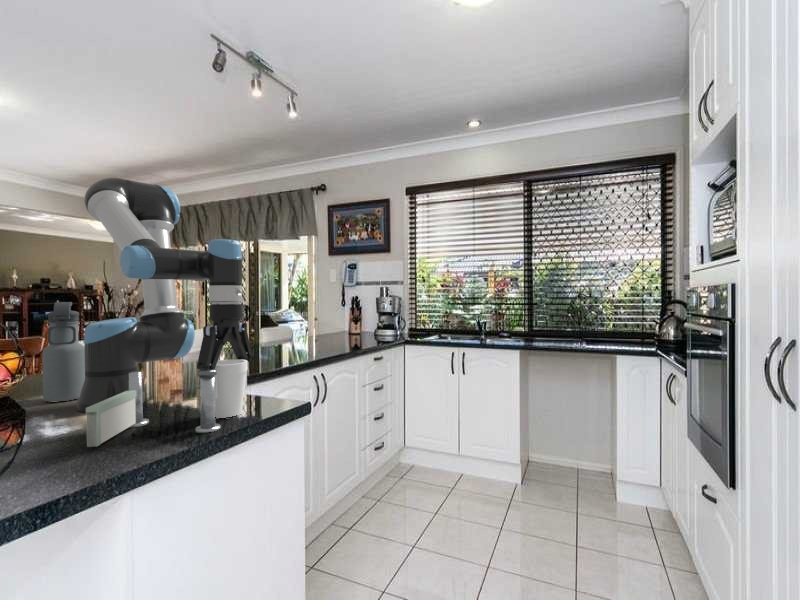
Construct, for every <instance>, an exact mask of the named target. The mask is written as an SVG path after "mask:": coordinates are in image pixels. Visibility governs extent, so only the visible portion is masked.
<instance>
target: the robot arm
mask: <svg viewBox="0 0 800 600" xmlns="http://www.w3.org/2000/svg"><path fill="white" fill-rule="evenodd" d="M83 201H84V205H85V208H86V211H87V212H88V213H89V214H90V216H91V217H92V218H93V219H94V220H95V221H98V222H100V223H101V225H103V227H104V228H105V229H106V231H107V233H109V236H110V237H111V238H112V239H113V241H114V243H115V244H116V245H117V246H118V248H119V249H120V250H121V252H120V257H119V265H120V267H121V272H122V274H123V275H124V276H125V277H126V278H130V279H139V280H141V285H142V295H143V305H144V311H143V312H142V313H141V315H139V321H138V320H137V319H136V317H134V316H133V317H132V316H131V317H127V316H126V317H119V318H118V317H117V318H113V319H112V318H109V319H104V320H99V321H94V322H91V323H89V324H87V325H86V327H85V328H84V336H83V346H84V347H85V381H84V384H83V387H82V390H81V394H80V398H79V399H77V400H76V405H77V406H76V409H77V411H79V412H82V413H86V408H87V407H89V406H92V405H94V404H96V403H99V402H101V401H104V400H106V399H108V398H111V397H113V396H115V395H118V394H120V393H122V392H125V391H129V372H134V371H138V364H141V363H151V362H159V361H167V360H168V361H171V360H174V359H180V358H184V357H186V356H187V355H188V354H189V353H190V352H191V350H192V348H193V347H194V343H195V336H196V335H195V334H196V332H195V326H194V324H193V322H192V321H191V319H188V318H186V317H185V312H184V311H183V310H181V309H180V308H179V306H178V298H177V290H176V289H177V288H176V281H178V280H179V281H181V280H182V281H195V282H196V281H197V282H205V281H208V301H209V302H210V303H211V304H210V305H209V309H208V310H209V311H208V314H209V315H208V316H209V319H210V320H211V321H212V323H213V324H212V326H211V325H210V326H208V325H206V326H203V328H202V331H203V332H202V334H203V335H202V341H201V345H200V350H199V354H198V360H197V363H196V369H197V370H203V369H215V367H216V364H217V361H218V360H220V355H221V353H222V350H223V348H224V346H225V345H226V344H227V343H229V344H230V346H231V349H232V350H233V353H234V355H235V358H236V359H241V360H247V363H248V362H249V363H250V362H251V361H252V358H253V352H252V348H251V344H250V343H251V341H250V338H249V334H248V323H247V322H239V320H241V319H242V318H243V305H242V304H241V302H243V255H242V254H243V253H242V244H241V242H240V241H238V240H234V239H227V238H226V239H225V238H223V239H222V238H221V239H220V238H218V239H211V240H210V241H209V242H208V247H207V250H193V249H181V248H172V246H171V245H172V244H171V237H170V233H171V232H172V231H173V230H174V228H175V225H176V224H178V222H179V220H180V217H181V215H180V213H181V204H180V201H179V198H178V196H177V194H176V193H175V192H174V190H172V188H171V189H170V188H169V187H166V186H161V185H159V184H151V183H146V182H140V181H135V180H130V179H125V178H121V177H108V178H107V177H106V178H102V179H99V180H97V181H95V182H94V183H93V184H91V185H90V186H89V187H88V188H87V190H86V192H85V194H84V200H83ZM175 280H176V281H175ZM210 364H211V365H210ZM247 375H248V371H247V372H246V381H245V389H246V388H248V376H247ZM217 398H218V381H217V375H215V399H217ZM142 401H143V403H145V401H146V392H145V390H143V389H142Z"/></svg>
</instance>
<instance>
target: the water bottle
mask: <svg viewBox="0 0 800 600" xmlns="http://www.w3.org/2000/svg"><path fill="white" fill-rule="evenodd" d="M72 306H73V302H72V301H67V302H66V301H60V302H59V301H58V302H57V301H56V302H55V301H54V305H53V311H50V312H48V313H47V318H48V319H47V320H48V322H47V325H49V327H48V329H47V343H48V345H47V346H45V347H44V348H43V350H42V351H41V352H42V353H41V355H42V356H41V357H42V358H41V359H42V398H43V402H46V401H67V402H70V401H69V400H73V401H75V400H74V399H77V400H78V399H79V398H80V394H81V390H82V387H83V384H84V381H85V347H84V344H81V343H80V342H79V323H80V312H78V311H76V310H71V309H72Z"/></svg>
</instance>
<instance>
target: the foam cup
mask: <svg viewBox="0 0 800 600" xmlns="http://www.w3.org/2000/svg"><path fill="white" fill-rule="evenodd" d="M210 365H211V364H210ZM248 366H249V365H248V362H247V360H241V359H237V358H236V359H231V358H230V359H218V361H217V364H216V367H215V369H217V381H218V398H217V399H215V417H216V418H215V419H219V418H226V417H232V416H236V415H239V414H241V415H242V413H241V412H242V411H243V404H244V395H245V389H246V388H245V381H246V372H247V373H248ZM239 416H240V415H239ZM226 419H227V418H226Z"/></svg>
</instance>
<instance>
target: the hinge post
mask: <svg viewBox="0 0 800 600" xmlns="http://www.w3.org/2000/svg"><path fill="white" fill-rule="evenodd" d="M131 390H136V397H135V413H136V423H135V424H133V425H132V426H130V427H128V428H127V429H130V428H131V429H132V428H140V427H143V426H146V425H149V423H150V420H149V418H144V413H143V411H144V410H143V405H144V404H143V403H144V402H143V401H142V390H143V372H142V371H141V370H137V371H134V372H129V391H131Z"/></svg>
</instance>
